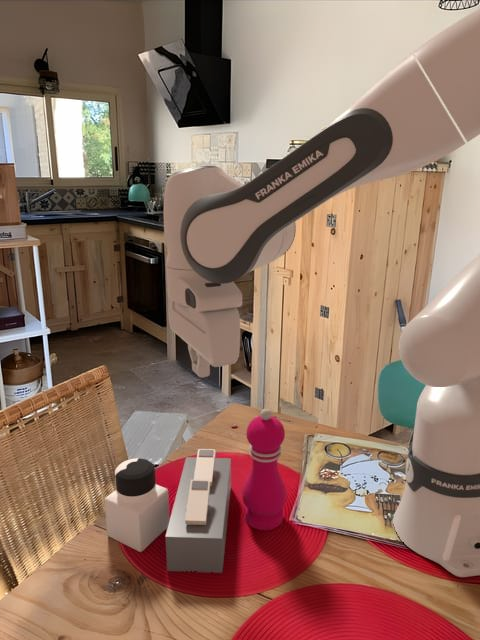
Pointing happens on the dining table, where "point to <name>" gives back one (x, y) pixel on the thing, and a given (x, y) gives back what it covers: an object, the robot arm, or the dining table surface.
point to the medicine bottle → (136, 505)
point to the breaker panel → (200, 540)
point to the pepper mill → (264, 473)
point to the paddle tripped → (205, 465)
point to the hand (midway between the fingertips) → (201, 373)
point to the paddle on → (197, 502)
